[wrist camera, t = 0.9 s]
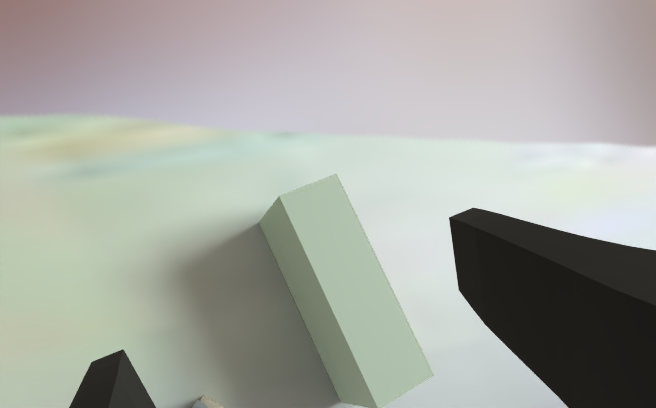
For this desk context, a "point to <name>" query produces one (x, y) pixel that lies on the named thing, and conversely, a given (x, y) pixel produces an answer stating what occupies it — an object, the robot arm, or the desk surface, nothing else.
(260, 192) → the desk surface
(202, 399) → the tile
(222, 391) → the desk surface
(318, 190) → the block
